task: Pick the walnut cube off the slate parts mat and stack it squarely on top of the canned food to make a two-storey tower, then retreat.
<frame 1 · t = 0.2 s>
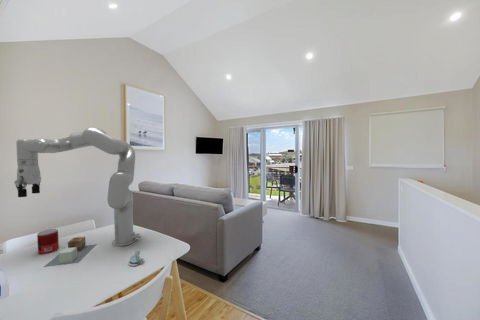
hand: (29, 195, 106), 31 cm above the table, fingers open, 9 cm apart
sage block: (68, 260, 97), resting on parts mat
walnut block: (77, 249, 108), resting on parts mat
canned food: (48, 251, 107), on the table
parts mat: (73, 255, 103), on the table
pacifier: (135, 263, 95), on the table
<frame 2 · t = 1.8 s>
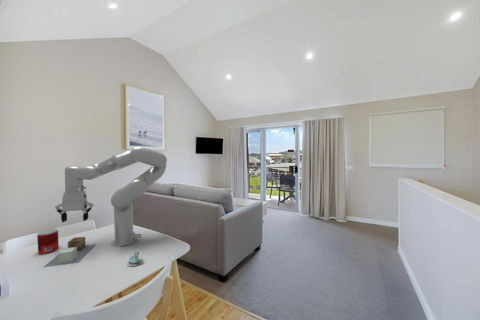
hand: (75, 220, 108), 16 cm above the table, fingers open, 9 cm apart
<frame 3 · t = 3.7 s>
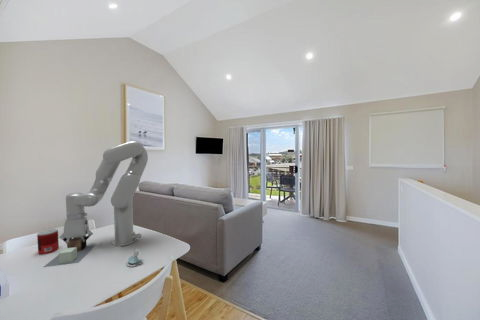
hand: (77, 248, 108), 1 cm above the table, fingers closed on walnut block, 5 cm apart
walnut block: (77, 249, 108), resting on parts mat, touching gripper
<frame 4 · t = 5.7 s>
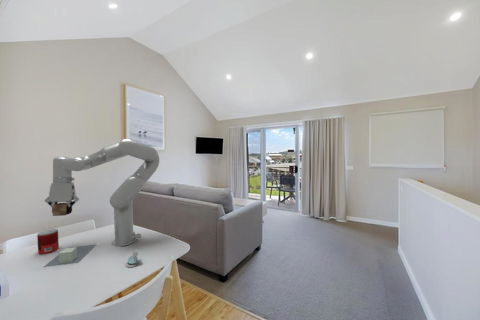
hand: (62, 213, 107), 20 cm above the table, fingers closed on walnut block, 5 cm apart
walnut block: (62, 214, 107), point 20 cm above the table, touching gripper
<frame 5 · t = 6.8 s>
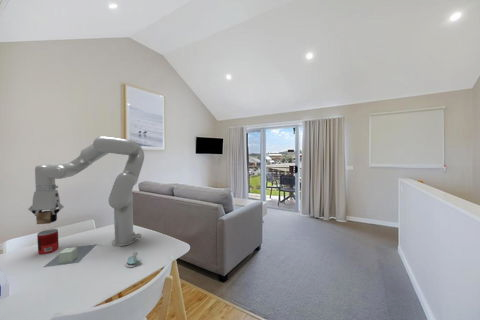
hand: (46, 221, 106), 16 cm above the table, fingers closed on walnut block, 5 cm apart
walnut block: (46, 222, 106), point 16 cm above the table, touching gripper
when the fingers open (13 cm above the table, at t = 7.8 s): walnut block drops 2 cm, resting on canned food.
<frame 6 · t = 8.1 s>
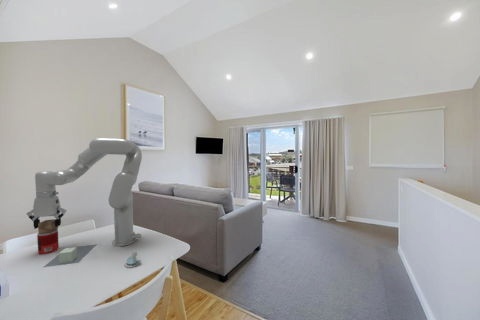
hand: (47, 226, 106), 13 cm above the table, fingers open, 8 cm apart
walnut block: (48, 231, 107), point 11 cm above the table, touching canned food
canned food: (48, 252, 107), on the table, touching walnut block
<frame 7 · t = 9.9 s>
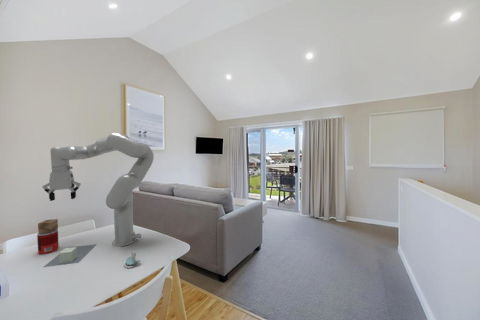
hand: (63, 199, 112), 27 cm above the table, fingers open, 9 cm apart
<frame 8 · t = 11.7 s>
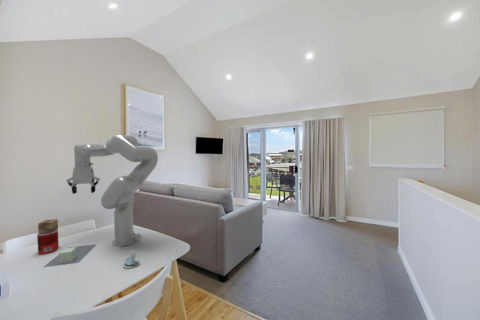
hand: (84, 192, 122), 28 cm above the table, fingers open, 9 cm apart
at the end: walnut block 0.3 cm from the canned food (horizontally); walnut block point 11.0 cm above the table; walnut block tilted 0° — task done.
